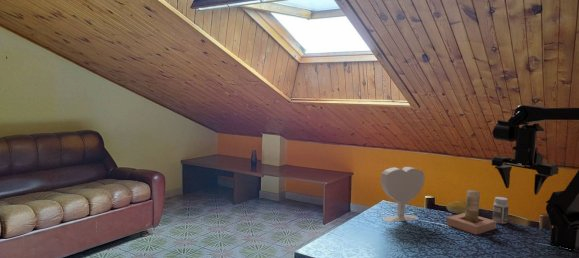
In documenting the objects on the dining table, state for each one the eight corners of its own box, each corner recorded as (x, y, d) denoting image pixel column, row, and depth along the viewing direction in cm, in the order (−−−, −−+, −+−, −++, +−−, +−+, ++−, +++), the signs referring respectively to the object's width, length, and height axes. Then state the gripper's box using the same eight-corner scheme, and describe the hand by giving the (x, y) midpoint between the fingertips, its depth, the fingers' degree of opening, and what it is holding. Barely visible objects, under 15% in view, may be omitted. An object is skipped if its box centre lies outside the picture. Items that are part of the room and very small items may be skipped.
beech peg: (480, 228, 139) (482, 192, 137) (469, 228, 137) (472, 193, 136) (471, 224, 142) (474, 189, 141) (461, 225, 141) (464, 190, 140)
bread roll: (441, 210, 159) (442, 199, 159) (459, 207, 163) (459, 197, 163) (458, 216, 152) (459, 205, 151) (476, 213, 156) (477, 203, 155)
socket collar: (495, 228, 138) (496, 221, 138) (476, 234, 132) (477, 226, 132) (465, 219, 148) (466, 212, 147) (446, 224, 141) (446, 217, 141)
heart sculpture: (415, 214, 152) (417, 165, 150) (423, 218, 147) (426, 168, 145) (377, 217, 147) (379, 167, 145) (385, 222, 142) (387, 170, 140)
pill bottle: (503, 219, 148) (505, 196, 147) (509, 224, 144) (511, 200, 143) (490, 219, 149) (491, 196, 148) (495, 223, 144) (497, 199, 143)
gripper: (568, 146, 132) (564, 194, 133) (510, 139, 147) (506, 182, 149) (551, 148, 125) (547, 199, 127) (492, 140, 141) (488, 186, 142)
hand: (521, 191), depth 136 cm, fingers open, 9 cm apart
